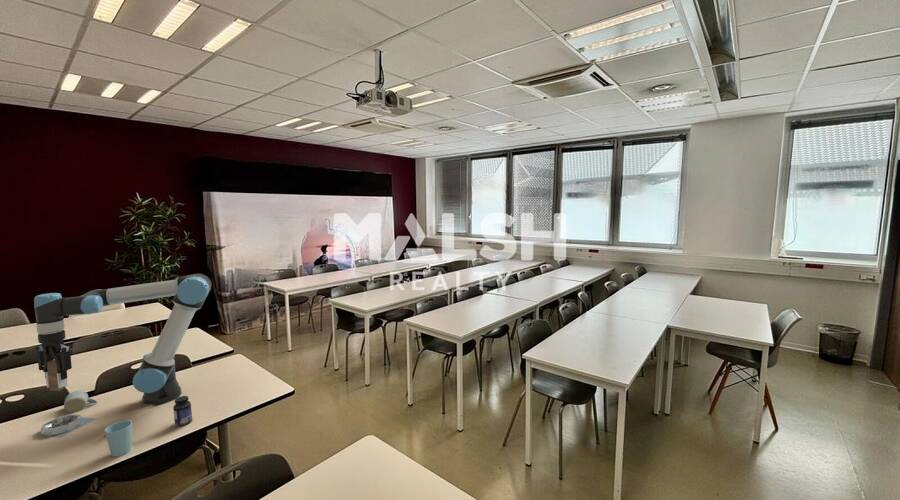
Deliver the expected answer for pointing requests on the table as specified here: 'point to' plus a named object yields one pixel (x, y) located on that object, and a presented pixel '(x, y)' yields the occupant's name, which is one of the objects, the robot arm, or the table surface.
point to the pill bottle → (182, 411)
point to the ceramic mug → (77, 401)
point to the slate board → (83, 421)
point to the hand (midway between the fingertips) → (57, 386)
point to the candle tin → (61, 425)
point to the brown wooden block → (53, 376)
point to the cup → (119, 438)
